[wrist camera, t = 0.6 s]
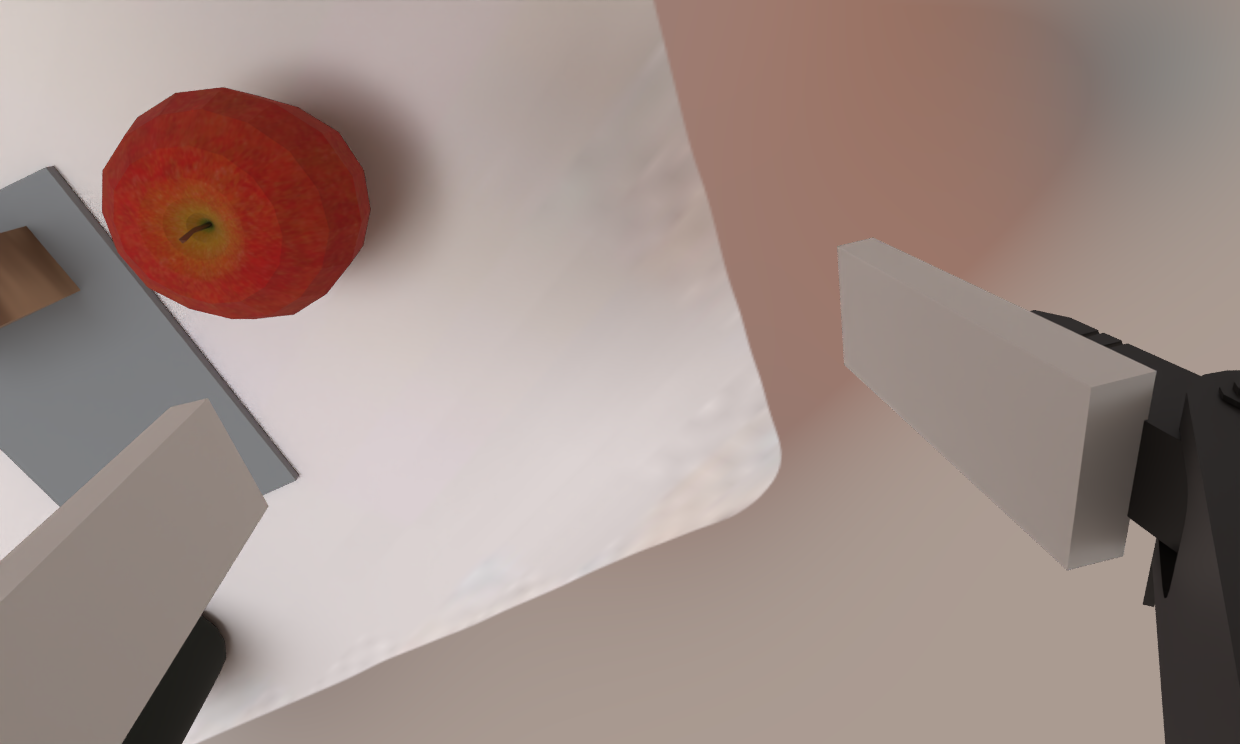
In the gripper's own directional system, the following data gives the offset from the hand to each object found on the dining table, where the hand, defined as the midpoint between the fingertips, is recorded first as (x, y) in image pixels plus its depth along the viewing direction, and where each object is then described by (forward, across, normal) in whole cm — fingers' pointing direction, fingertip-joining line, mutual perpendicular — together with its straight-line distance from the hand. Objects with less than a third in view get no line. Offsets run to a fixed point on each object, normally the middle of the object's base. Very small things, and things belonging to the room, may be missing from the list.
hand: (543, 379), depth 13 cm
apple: (+27, -13, +3) cm, 30 cm away
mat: (+27, -30, -6) cm, 40 cm away
